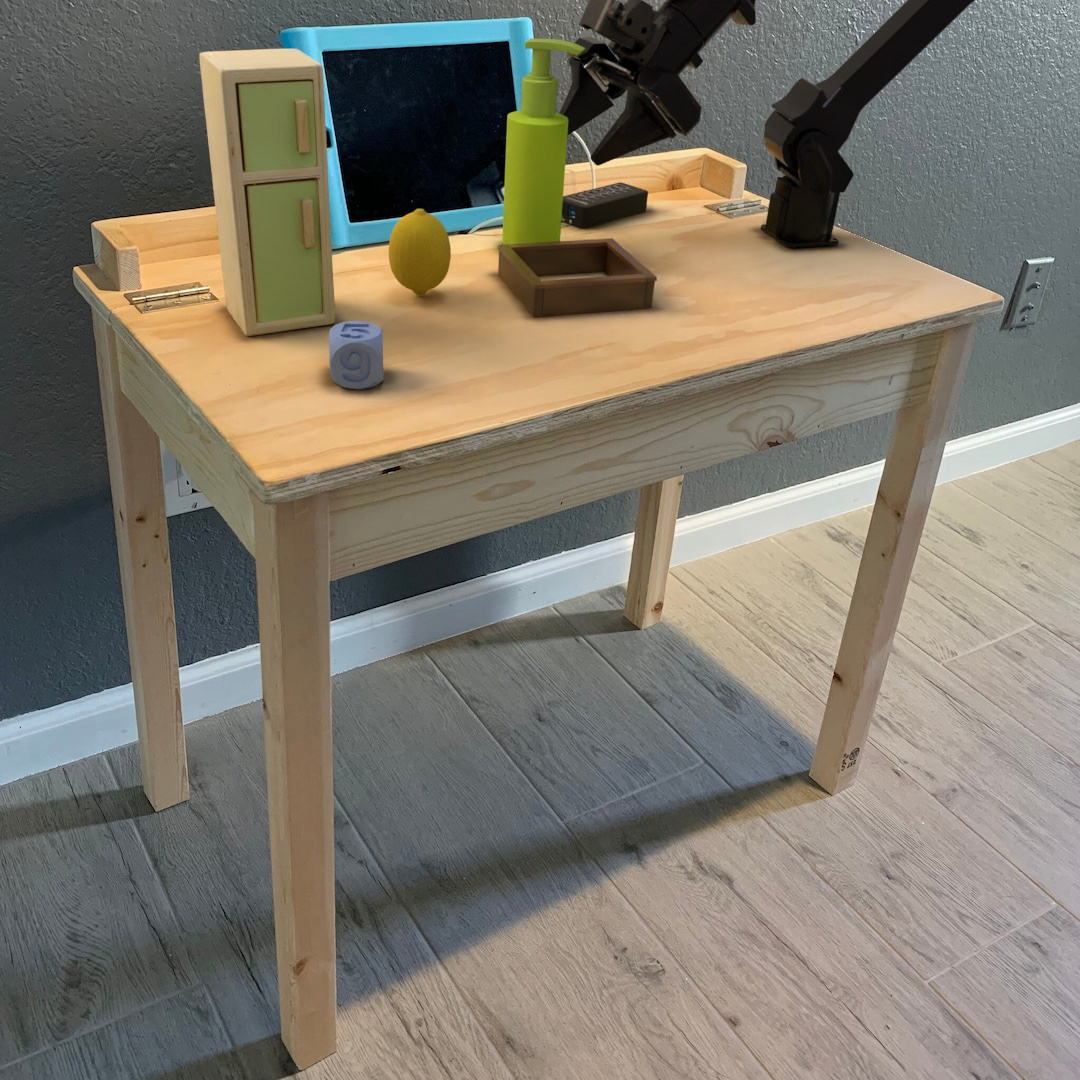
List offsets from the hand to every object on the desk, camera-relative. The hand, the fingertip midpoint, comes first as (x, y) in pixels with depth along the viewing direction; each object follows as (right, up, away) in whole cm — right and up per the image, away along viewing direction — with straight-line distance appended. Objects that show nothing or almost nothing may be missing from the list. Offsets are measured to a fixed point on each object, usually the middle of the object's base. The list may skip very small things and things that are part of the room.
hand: (572, 149), depth 112 cm
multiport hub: (+4, -2, +16) cm, 16 cm away
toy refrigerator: (-26, -20, -14) cm, 35 cm away
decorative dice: (-17, -26, -23) cm, 39 cm away
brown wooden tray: (0, -15, -5) cm, 16 cm away
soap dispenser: (-4, -9, +4) cm, 11 cm away
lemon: (-14, -16, -8) cm, 23 cm away
